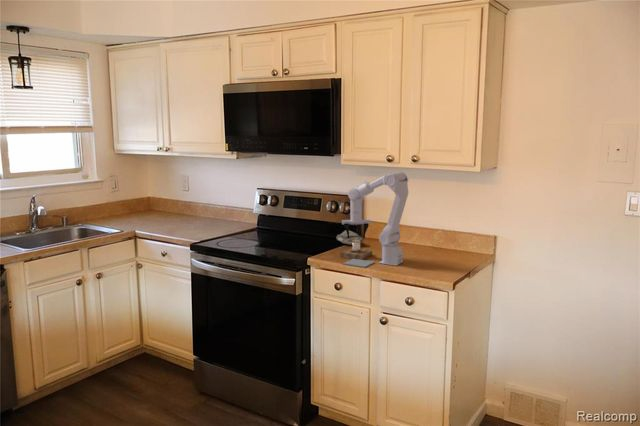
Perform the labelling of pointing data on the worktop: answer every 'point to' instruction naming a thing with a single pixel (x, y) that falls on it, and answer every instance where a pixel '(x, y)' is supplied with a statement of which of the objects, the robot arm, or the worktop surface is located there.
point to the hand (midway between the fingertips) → (356, 238)
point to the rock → (352, 236)
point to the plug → (356, 246)
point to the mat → (359, 263)
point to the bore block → (356, 254)
